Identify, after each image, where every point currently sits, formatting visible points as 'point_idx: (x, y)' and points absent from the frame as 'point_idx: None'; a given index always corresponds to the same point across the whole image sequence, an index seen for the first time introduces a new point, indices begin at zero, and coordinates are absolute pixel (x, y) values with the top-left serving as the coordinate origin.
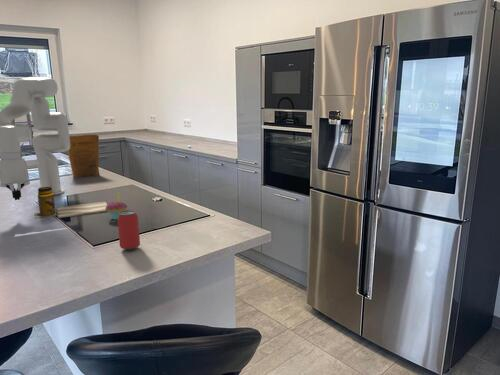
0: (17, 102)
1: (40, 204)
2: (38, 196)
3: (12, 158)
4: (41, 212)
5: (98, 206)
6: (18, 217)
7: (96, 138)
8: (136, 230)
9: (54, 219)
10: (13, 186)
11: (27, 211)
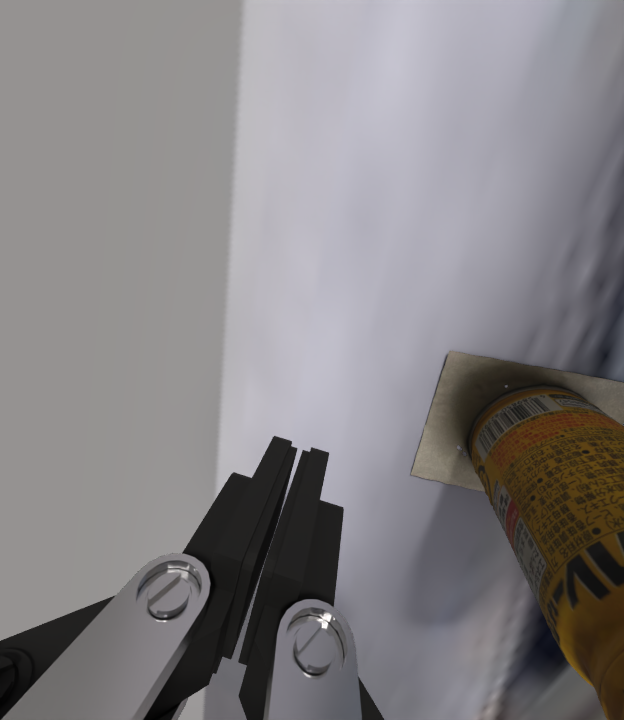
0: None
1: (509, 539)
2: (553, 622)
3: None
4: (479, 477)
5: None
6: (318, 358)
7: None
8: None
9: (498, 585)
10: (151, 689)
11: (436, 184)
